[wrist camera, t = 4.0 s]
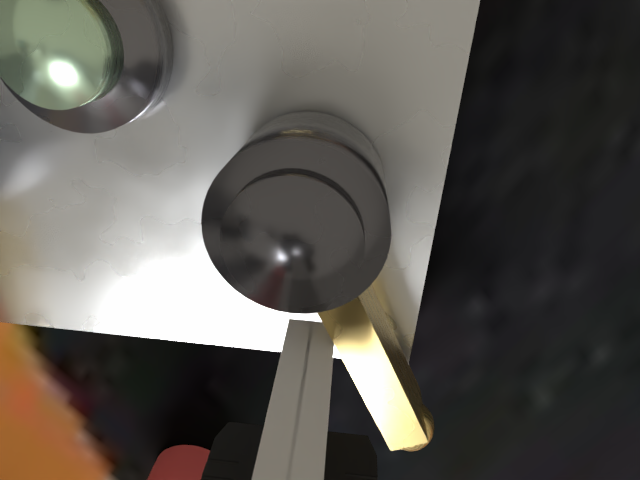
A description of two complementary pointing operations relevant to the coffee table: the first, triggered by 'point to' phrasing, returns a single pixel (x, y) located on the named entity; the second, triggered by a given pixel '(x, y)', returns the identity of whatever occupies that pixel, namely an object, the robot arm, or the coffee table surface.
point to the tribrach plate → (203, 148)
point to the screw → (318, 251)
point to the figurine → (180, 463)
